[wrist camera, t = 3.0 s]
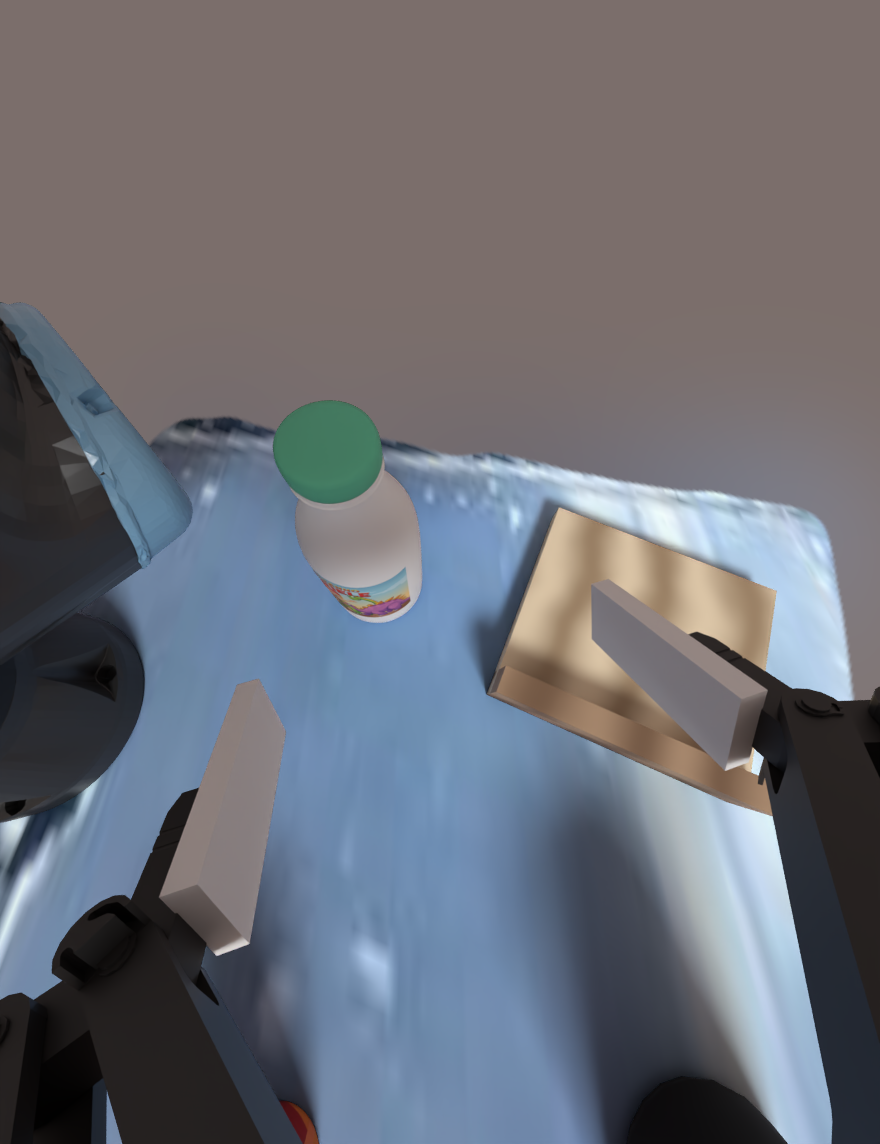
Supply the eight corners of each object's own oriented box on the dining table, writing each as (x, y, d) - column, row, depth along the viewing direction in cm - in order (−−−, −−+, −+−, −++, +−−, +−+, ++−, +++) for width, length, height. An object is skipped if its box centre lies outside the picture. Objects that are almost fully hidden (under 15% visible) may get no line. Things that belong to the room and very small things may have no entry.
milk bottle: (360, 531, 37) (289, 347, 18) (435, 561, 36) (443, 401, 17) (321, 604, 35) (193, 479, 16) (401, 638, 34) (367, 549, 15)
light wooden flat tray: (486, 694, 32) (496, 692, 28) (552, 517, 38) (570, 490, 33) (726, 801, 30) (781, 818, 26) (758, 597, 36) (808, 580, 31)
